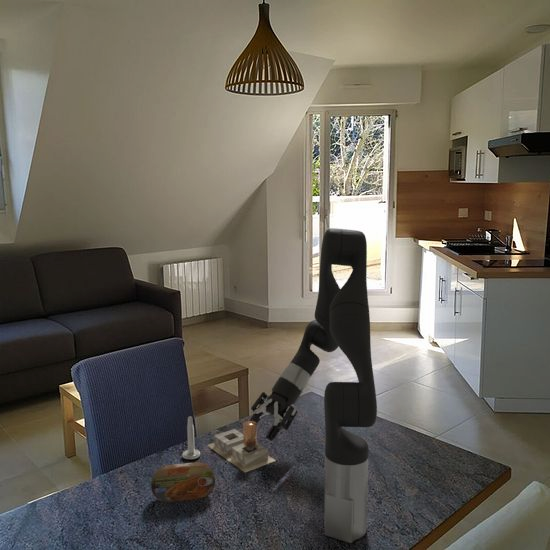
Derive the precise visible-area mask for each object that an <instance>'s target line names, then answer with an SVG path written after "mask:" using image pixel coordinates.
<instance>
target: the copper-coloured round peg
mask: <svg viewBox="0 0 550 550" xmlns="http://www.w3.org/2000/svg"><path fill="white" fill-rule="evenodd" d="M242 432H243V433H242V434H243V444H244V445H245V446H246V450H247V452H248V453H249V452H251V451H254V446H255V445H256V444H257V443H258V436H257V435H258V423H256V422H254V421H249V420H248V421H244V422H243V425H242Z"/></svg>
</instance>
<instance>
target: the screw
mask: <svg viewBox="0 0 550 550" xmlns="http://www.w3.org/2000/svg"><path fill="white" fill-rule="evenodd" d="M193 420H194V419H193V416H191V415H190V416H188V417H187V426H186V431H187V432H186V434H187V435H186V436H187V437H186V438H187V449H186V450H185V451H183V452H182V458H183V459H186V460H189V461H190V460H195V459H198V458H199V457H200V456H201V452H200V450H199V449H195V426H194V423H193V422H194V421H193Z"/></svg>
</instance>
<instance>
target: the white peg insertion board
mask: <svg viewBox="0 0 550 550" xmlns="http://www.w3.org/2000/svg"><path fill="white" fill-rule="evenodd" d="M206 446H207V447H208V448H210V449H211V450H212V451H215V452H216V453H217V454H218V455H220V456H222V457H223V458H224V459H225V460H226V461H228V462H229V463H231V464H232V465H234V466H235V467H236V468H238V469H240V471H242V472H243V473H248V472H250V471H253V470H256V469H259V468H261V467H264V466H265V465H268V464H271V463H273V462H275V461H277V460H276V459H274V458H273V457H271V456H270V455H269V449H267V448H266V447H264V446H263V445H262V444H260V443H258V442H257V444H256V445H255V446H254V451H251V452H249V453H248V452H247V450H246V446H245V445H244V444H243V433H242V432H241V431H239V430H237V429H236V428H233V429H230V430H227V431H224V432H220V433H218V434H215V435H213V443H210V444H207V445H206Z"/></svg>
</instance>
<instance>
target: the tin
mask: <svg viewBox="0 0 550 550" xmlns="http://www.w3.org/2000/svg"><path fill="white" fill-rule="evenodd" d="M215 485H216V478H215V474H214V471H213V469H212V467H210V466H209V465H208V464H207V463H205V462H200V461H196V462H184V463H175V464H166V465H163V466H161V467H159V468H158V469H157V470H156V471H155V472H154V474H153V477H152V479H151V483H150V489H151V493H152V494H153V496H154V498H156V499H157V500H158V501H161V502H164V503H173V502H174V503H175V502H183V501H190V500H191V501H194V500H200V499H203V498H206V497H208V496H209V494H211V493H212V491H213V490H214V487H215Z"/></svg>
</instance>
